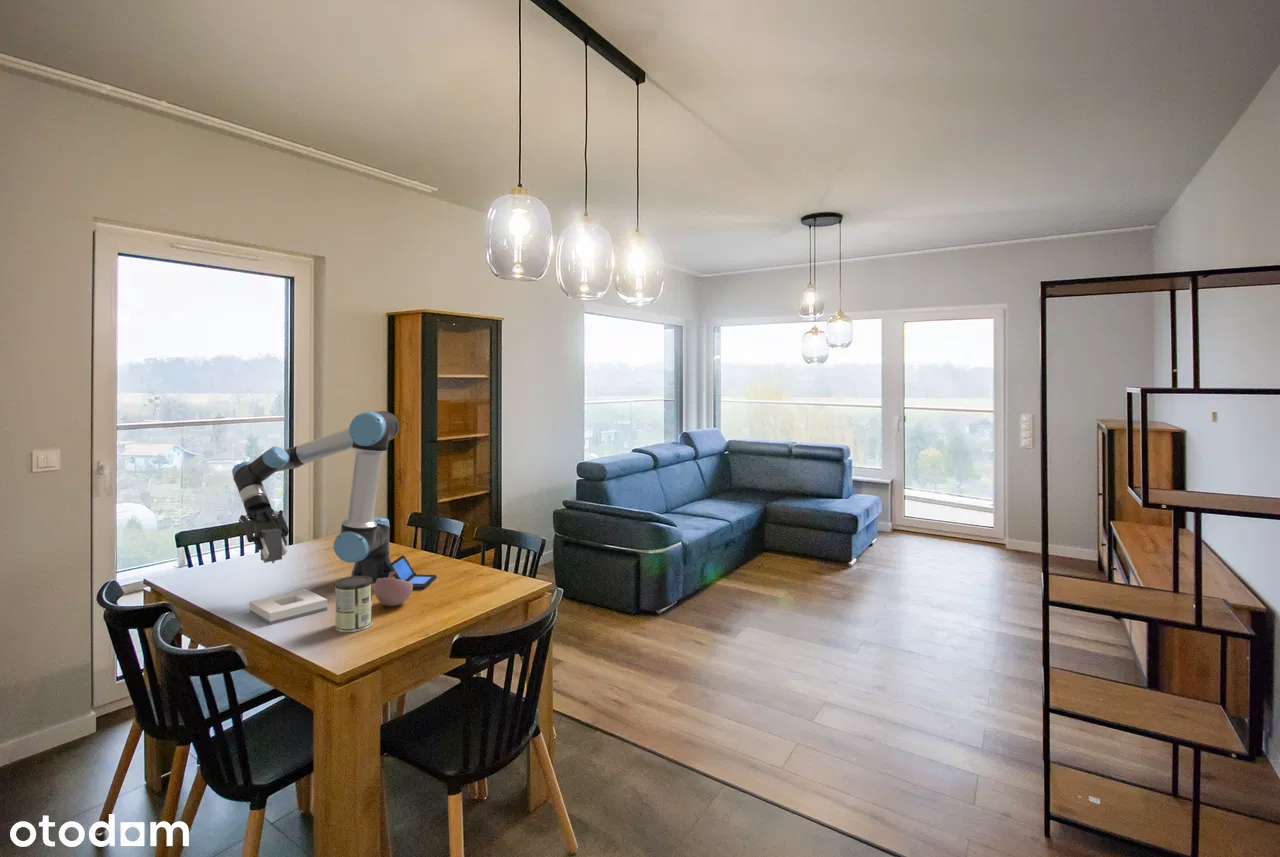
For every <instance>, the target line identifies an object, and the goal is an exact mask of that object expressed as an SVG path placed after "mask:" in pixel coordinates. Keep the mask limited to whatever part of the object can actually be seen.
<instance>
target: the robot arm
mask: <svg viewBox="0 0 1280 857" xmlns="http://www.w3.org/2000/svg"><path fill="white" fill-rule="evenodd" d="M399 431H400V423H399V420H398V418H397V417H396V415H394V414H393V413H391V412H389V411H387V410H381V411H379V410H377V411H365V412H361V413H359V414H357V415H356V416H355V417H354V418H353V419H352V420H351V421H350V424H349V428H347V429H346V428H345V429H344V430H343V429H342V430H340V431H338V432H337V431H336V432H333V433H331V434H329V435H325V436H323V437H319V438H317V439H314V440H310V441H307V442H305V443H302V444H299V445H296V446H295V445H294V446H293V447H290V448H287V449H284V448H283V447H279V446H271V447H270V448H269V449H266V450H265V451H264V452H263V453H262V454H260V455H259V457H257V458H255V459H253V461H242V462H240V463H237V464H236V465H234V466H233V468H232V469H231V470H232V471H231V474H232V478H233V482H234V484H235V486H236V488H237V490H238V494H239V496H240V499H241V502H242V504H243V508H244V511H245V513H246V514H242V515H240V516H239V518H238V522H239V523H240V524H241V526H242V529H243V532H244V534H245V537H246V539H247V542H248V543H253V544H254V545H256V548H257V550H258V551H261V550H262V553H263V556H264V559H267V558H268V556H269V552H268V549H267V546H266V544H265V541H264V538H261V536H260V531H261V524H266V525H267V526H268V527H269V528H270V529H274V528H276V529H279V530H282V557H283V556H286V555H287V552H288V549H287V547H286V545H287V540H286V537H288V535H289V533H290V530H289V528H288V525H287V523H286V520H285V518H284V510H281V509H280V510H279V511H278V510H277V511H276V510H274V508H272V506H271V503H270V500H269V498H268V494H267V493H266V492H267V491H266V490H265V488H264V484H263V482H265V480H267V479H269V477H271V476H272V475H274V474H275V473H277V472H283V471H286V470H293V469H297V468H300V467H302V466H304V465H307V464H310V463H312V462H315V461H318V460H322V459H325V458H327V457H331V456H334V455H336V454H339V453H342V452H345V451H348V450H352V449H353V450H354V451H355V457H354V459H355V460H354V466H353V474H352V480H351V486H350V493H349V494H350V496H349V502H348V510H347V517H346V518H345V519H344V520H343V521H342V522H341V527H340V532H339V534H338V535H337V536H336V537H335V539H334V542H333V551H334V553H335V555H336V556H337V557H338V559H340V560H341V561H343V562H346V563H349V564H353V563H354V565H353V568H352V569H351V570H352V571H351V575H350V577H352V576H368V577H371V578H372V583H376V580H377V579H378V578H388V576H389V574H390V572H391V571H390V569H389V567H388V565H389V564H390V563H392V562H393V561H392V560H391V557H390V528H391V527H390V519H388V518H386V517H374V516H375V509H376V508H375V507H376V503H377V502H376V501H377V494H378V485H379V479H380V471H381V465H382V457H383V455H384V454H385V453H386V452H388V448H389V442H390V441H391V440H393V439H395V437H396V436H397V435H398V434H399ZM274 517H275V518H274ZM275 519H276V520H277V522H276V521H275ZM249 520H250V522H253V528H254V530H253V531H252V527H251V524H250V523H249ZM277 523H278V524H277ZM260 538H261V539H260ZM392 578H394V576H392Z"/></svg>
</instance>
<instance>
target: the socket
mask: <svg viewBox="0 0 1280 857" xmlns="http://www.w3.org/2000/svg"><path fill="white" fill-rule="evenodd" d="M325 611H328V598H325V597H323V596H321V595H319V594H317V593H314V592H313V591H311V590H309V589H307V588H303V589H299V590H295V591H290V592H286V593H281V594H277V595H274V596H269V597H265V598H264V597H263V598H259V599H256V600H251V601H249V613H250V614H252V615H253V616H255V617H256V618H258V619H260V620H262V621H263V622H265V623H266V624H269V625H271V626H272V625H275V624H278V623H282V622H286V621H290V620H293V619H298V618H300V617H301V618H302V617H305V616H309V615H313V614H316V613H321V612H325Z"/></svg>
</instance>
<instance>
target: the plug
mask: <svg viewBox="0 0 1280 857" xmlns="http://www.w3.org/2000/svg"><path fill="white" fill-rule="evenodd" d="M260 536H261V538H264V541H265V544H266V546H267V549H268V552H269V556H268V558H267V559H264V556H263V553H262V550H260V560H261V561H263V563H264V564H266V563H270V562H271V563H272V564H275V562H277V561H282V560H283V556H282V530H279V529H276V528H274V529H271V528H270V529H262V530H261V529H260ZM261 538H260V539H261Z"/></svg>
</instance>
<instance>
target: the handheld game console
mask: <svg viewBox="0 0 1280 857" xmlns="http://www.w3.org/2000/svg"><path fill="white" fill-rule="evenodd" d="M391 562H392V563H390V564H389V565H388V567H389V569H390V571H391V572H393V571H395V570H397V571H398V572H397V573H396V574H394V575H393V579H399V580H404V581H408V582H411V583H413V589H412V591H413V590H415V591H417V590H418V591H422V590H425V589H427V587H429V586H430V585H431V584H432V583H433V582H434V581H435V580H436V579H437V574H417V573H416V572H415V571H414V569H413V568H412V566H411V564H410V563H409V561H408V559H407V558H406V556H405V555H401V556H398V558H396V559H395V560H393V561H391Z"/></svg>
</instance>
